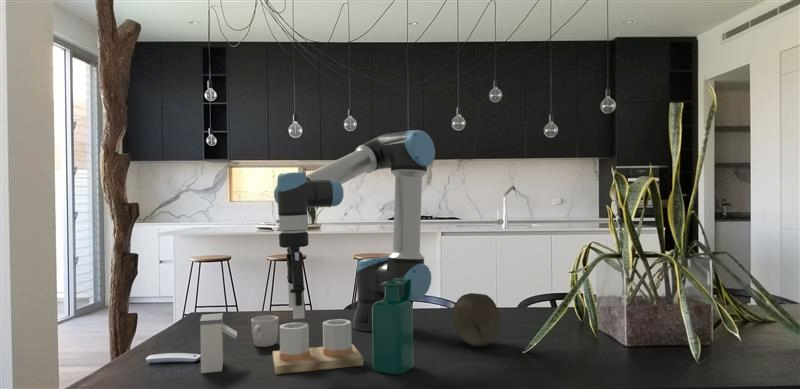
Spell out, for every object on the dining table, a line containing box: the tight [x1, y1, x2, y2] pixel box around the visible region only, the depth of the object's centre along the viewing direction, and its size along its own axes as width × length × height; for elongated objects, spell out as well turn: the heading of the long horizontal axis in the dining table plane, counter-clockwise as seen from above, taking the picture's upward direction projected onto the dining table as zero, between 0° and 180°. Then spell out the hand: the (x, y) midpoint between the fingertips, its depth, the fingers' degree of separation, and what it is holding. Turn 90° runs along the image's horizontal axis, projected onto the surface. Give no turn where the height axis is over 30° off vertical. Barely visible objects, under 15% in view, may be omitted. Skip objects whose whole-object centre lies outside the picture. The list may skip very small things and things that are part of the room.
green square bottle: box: [371, 278, 414, 376], centre depth 138 cm, size 10×8×22 cm
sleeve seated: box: [321, 318, 353, 357], centre depth 146 cm, size 8×8×8 cm
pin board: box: [272, 343, 364, 375], centre depth 145 cm, size 22×14×9 cm, turn 106°
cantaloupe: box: [451, 292, 501, 348], centre depth 158 cm, size 14×14×15 cm
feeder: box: [199, 312, 238, 374], centre depth 142 cm, size 9×8×13 cm
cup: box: [250, 315, 280, 348], centre depth 161 cm, size 11×8×8 cm
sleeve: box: [278, 321, 310, 361], centre depth 143 cm, size 8×8×8 cm
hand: (296, 312), depth 144 cm, fingers open, 13 cm apart
